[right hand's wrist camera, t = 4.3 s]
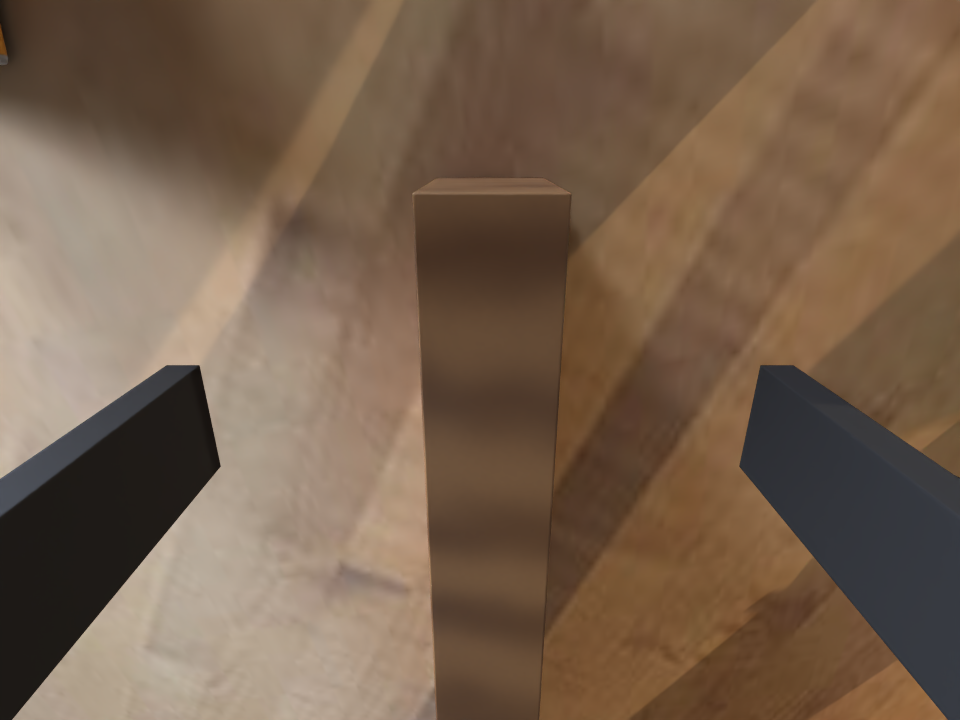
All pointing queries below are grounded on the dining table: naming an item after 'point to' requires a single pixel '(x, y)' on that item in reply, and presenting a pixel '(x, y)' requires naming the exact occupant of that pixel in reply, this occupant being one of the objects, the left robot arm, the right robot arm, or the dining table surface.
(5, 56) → the hard drive box
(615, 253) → the dining table surface
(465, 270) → the post
